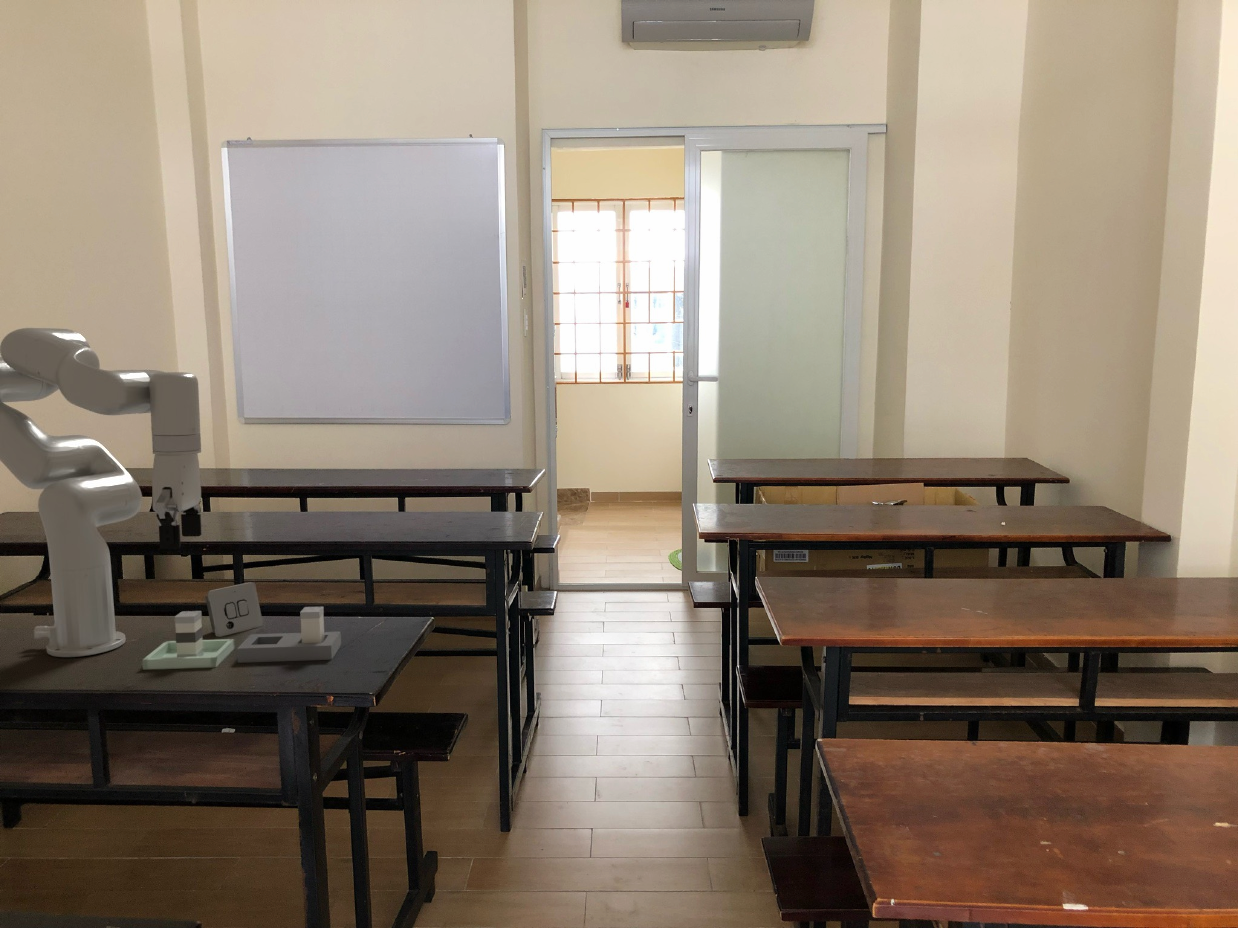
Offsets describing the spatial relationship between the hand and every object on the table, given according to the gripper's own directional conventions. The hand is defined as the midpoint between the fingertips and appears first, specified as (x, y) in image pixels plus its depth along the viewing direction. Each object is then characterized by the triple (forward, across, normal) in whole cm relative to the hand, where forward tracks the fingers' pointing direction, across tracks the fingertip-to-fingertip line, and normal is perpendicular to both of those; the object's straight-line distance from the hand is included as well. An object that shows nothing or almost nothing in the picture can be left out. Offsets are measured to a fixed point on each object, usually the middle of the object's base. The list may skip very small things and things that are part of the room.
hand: (181, 541), depth 156 cm
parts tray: (+22, 0, +1) cm, 22 cm away
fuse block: (+21, -1, +18) cm, 28 cm away
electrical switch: (+22, -17, +3) cm, 28 cm away
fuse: (+21, -1, +22) cm, 30 cm away
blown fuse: (+21, 0, +1) cm, 21 cm away
